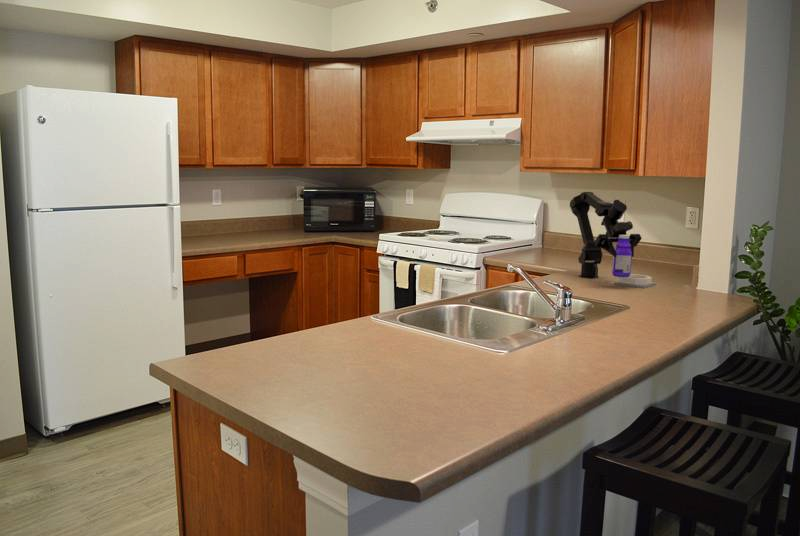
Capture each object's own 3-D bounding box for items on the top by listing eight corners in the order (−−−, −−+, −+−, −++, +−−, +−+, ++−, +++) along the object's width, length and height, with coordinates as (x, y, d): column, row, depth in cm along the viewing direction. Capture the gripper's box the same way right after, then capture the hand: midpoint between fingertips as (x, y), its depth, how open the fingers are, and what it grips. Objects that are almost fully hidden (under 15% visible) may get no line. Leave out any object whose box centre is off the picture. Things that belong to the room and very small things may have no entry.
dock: (613, 284, 287) (614, 276, 286) (627, 281, 296) (627, 273, 296) (643, 288, 278) (644, 280, 277) (656, 284, 287) (656, 276, 287)
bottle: (628, 275, 281) (631, 234, 278) (631, 278, 275) (634, 235, 273) (610, 275, 281) (613, 233, 279) (613, 277, 276) (616, 235, 273)
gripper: (599, 214, 276) (611, 244, 268) (640, 214, 280) (653, 244, 271) (589, 231, 285) (600, 261, 276) (629, 231, 289) (641, 260, 280)
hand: (624, 256), depth 276 cm, fingers closed on bottle, 7 cm apart
